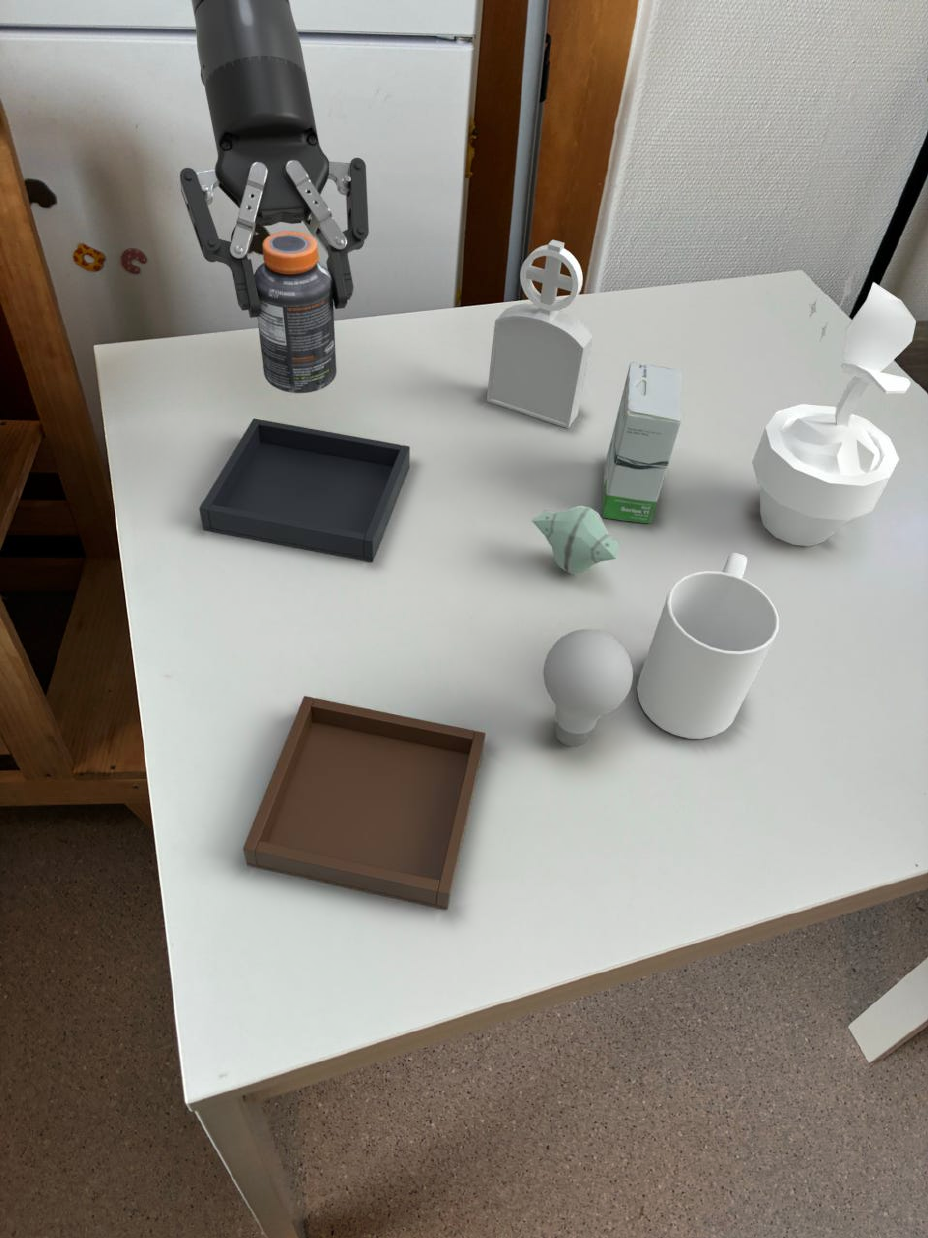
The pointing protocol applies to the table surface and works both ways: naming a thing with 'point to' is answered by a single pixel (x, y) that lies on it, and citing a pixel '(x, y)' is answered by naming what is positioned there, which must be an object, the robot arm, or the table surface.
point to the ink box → (641, 442)
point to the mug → (706, 651)
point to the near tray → (368, 802)
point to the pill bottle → (295, 314)
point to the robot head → (577, 538)
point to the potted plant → (835, 435)
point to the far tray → (307, 489)
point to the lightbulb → (585, 681)
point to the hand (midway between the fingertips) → (299, 309)
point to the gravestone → (541, 344)
